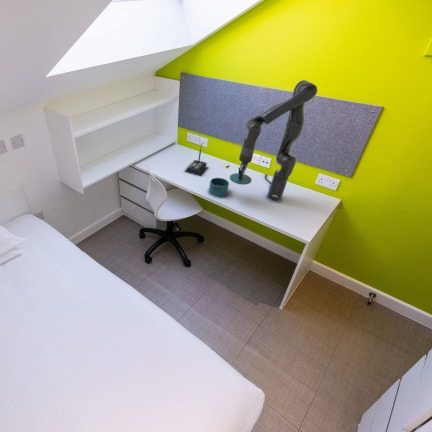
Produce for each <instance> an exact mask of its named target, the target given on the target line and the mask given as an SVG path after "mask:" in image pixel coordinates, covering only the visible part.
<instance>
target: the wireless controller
mask: <svg viewBox="0 0 432 432" xmlns="http://www.w3.org/2000/svg"><path fill="white" fill-rule="evenodd" d="M202 145H203V144H202V143H201V144H200V148H199V153H198V160H197V159H194V160H193V161H192V162H191V163H190V164H189V165H188V166H187V167H186V169H185V170H184V172H185V173H189V174H192V175H195V176H198V177H202V176H203V175H204V174H205V172H207V170H208V169H209V167H207V164H208V162H205V161H202V160H201V155H202V154H201V153H202Z"/></svg>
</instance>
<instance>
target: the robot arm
mask: <svg viewBox="0 0 432 432" xmlns="http://www.w3.org/2000/svg"><path fill="white" fill-rule="evenodd" d="M317 94H318V86H317V85H316V84H315V83H313V82H311V81H308V80H306V79H302V80H300V81H298V82H297V83H296V84H295V86H294V88H293V92H292V97H290V98H288V99H287V100H284V101H282V102H280V103H277V104H275V105H273V106H271V107H270V108H268V109H267V110H265V111H264V112H262V113H261V114H258V115H256V116H254V117H252V118H250V119H248V121H247V122H246V123H245V130H246V131H247V132H248V133H247V135H246V136H245V137H244V139H243V141H242V142H243V143H242V146H241V148H240V153H239V157H238V160H239V161H240V164H239V167H238V172H237V173H238V174H239V177H238V179H242V177H243V176H244V175H243V174H245V172H246V171H247V168H248V166H249V163H251V162H252V160H253V157H254V153H255V147H256V144H257V140H258V139H259V136H260V134H261V132H262V125H269V124H271V123H273V122H274V121H275V120H277V119H279V118H280V117H281V116H282V115H285V114H286V113H287V112H289V113H288V117H287V121H286V123H285V128H284V133H283V136H282V140H281V143H280V145H279V148H278V152H277V154H276V157H275V162H276V164H278V166H279V167H280V169H276V170H274V171H273V174H272V175H273V176H272V179H271V181H270V180H269V179H268V178H267V176H268V175H267V174H266V173H265V175H264V179H265V180H266V181H267V183H269V184H270V185H269V188H268V192H267V194H266V198H267V200H269V201H272V202H277V203H278V202H281V201H282V197H283V194H284V191H285V189H286V186H287V184H288V180H289V178H290V176H291V175H292V173H293V171H294V168H295V167H296V164H297V158H296V157H295V156H294V155H293V154H291V148H292V145H293V144H294V143H295V141H297V140H298V139H299V138H300V136H301V134H302V132H303V128H304V125H305V104H306V103H307V102H309V101H311V100H312V99H314V98H315V97H316V95H317Z"/></svg>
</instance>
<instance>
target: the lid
mask: <svg viewBox="0 0 432 432" xmlns="http://www.w3.org/2000/svg"><path fill="white" fill-rule="evenodd" d="M238 173H239V172H235V173H231V174H230V175H229V180H230V181H231V182H232V183H234V184H237V185H244V186H245V185H246V186H247V185H250V184H251V183H252V178H251V176H249V175H247V174H245V173H244V174H243V175H244V176H243V177H242V179H238V177H239V174H238Z"/></svg>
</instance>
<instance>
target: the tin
mask: <svg viewBox="0 0 432 432" xmlns="http://www.w3.org/2000/svg"><path fill="white" fill-rule="evenodd" d="M217 184H218V185H221V186H223V187H220V186H216V185H217ZM229 186H230V181H229V180H227V179H225V178H223V177H213V178H211V179H210V181H209V187H208V193H209V195H211V196H213V197H215V198H223V197H226V196H227V195H228V190H229Z"/></svg>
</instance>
